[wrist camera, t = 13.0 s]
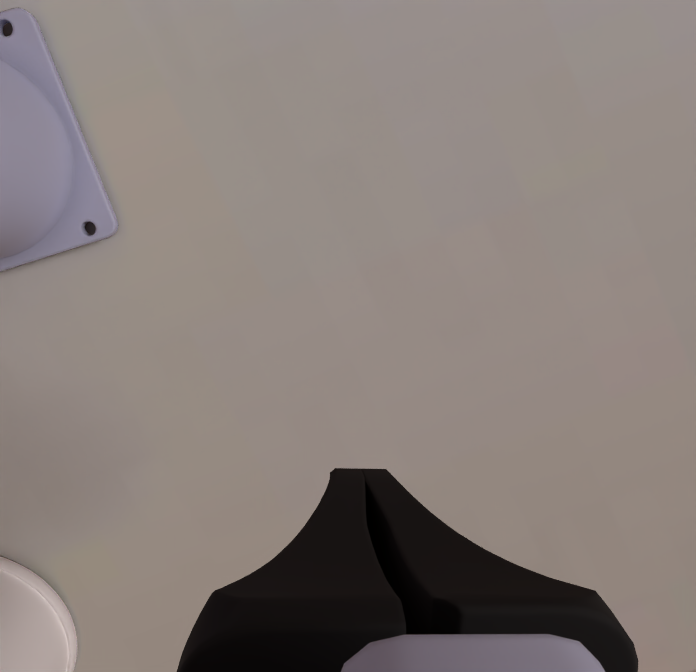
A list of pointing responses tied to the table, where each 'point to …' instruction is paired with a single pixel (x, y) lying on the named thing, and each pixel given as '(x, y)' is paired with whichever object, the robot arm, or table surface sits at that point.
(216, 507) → the table surface
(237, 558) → the table surface
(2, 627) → the white oil can
